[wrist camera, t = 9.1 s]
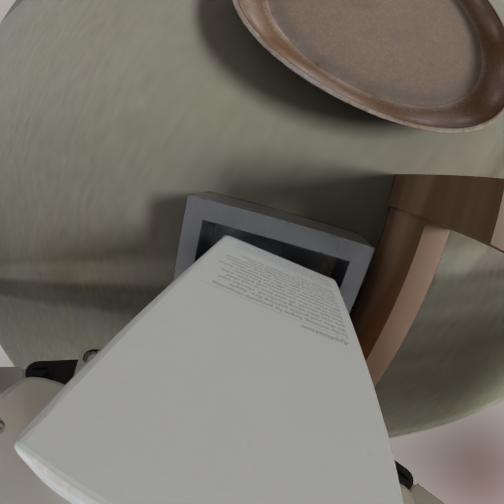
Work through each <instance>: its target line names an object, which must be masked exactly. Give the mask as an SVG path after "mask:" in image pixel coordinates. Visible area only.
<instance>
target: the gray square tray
mask: <svg viewBox="0 0 504 504" xmlns="http://www.w3.org/2000/svg"><path fill="white" fill-rule="evenodd" d="M225 235H229V236H232V237H234V238H236V239H239V240H241V241H243V242H246V243H248V244H251V245H253V246H255V247H258V248H260V249H262V250H265V251H267V252H270V253H272V254H274V255H277V256H279V257H281V258H284V259H286V260H289V261H291V262H293V263H296V264H298V265H300V266H303V267H305V268H308V269H310V270H312V271H315V272H317V273H319V274H322V275H324V276H327V277H329V278H332V279H334V280H335V281H336V283H337V286H338V288H339V291H340V293H341V296H342V298H343V301H344V304H345V306H346V308H347V311H348V314H349V313H350V311H351V308H352V306H353V304H354V301H355V299H356V296H357V294H358V291H359V289H360V286H361V284H362V281H363V279H364V276H365V274H366V271H367V268H368V266H369V263H370V260H371V257H372V255H373V252H374V249H375V248H374V247H373V246H372V245H371V244H370V243H369V242H368V241H366V240H365V239H364V238H363V237H362V236H361V235H360V234H358V233H355V232H352V231H349V230H345V229H342V228H339V227H336V226H333V225H329V224H326V223H323V222H319V221H316V220H313V219H309V218H306V217H303V216H299V215H296V214H292V213H289V212H285V211H282V210H278V209H274V208H271V207H267V206H263V205H260V204H256V203H252V202H248V201H245V200H241V199H237V198H233V197H229V196H225V195H221V194H217V193H213V192H204V193H198V194H193V195H188V198H187V203H186V208H185V213H184V219H183V224H182V229H181V235H180V241H179V246H178V252H177V259H176V265H175V271H174V278H173V281H174V280H175V279H176V278H178V277H179V276H180V275H181V274H182V273H183V272H184V271H185V270H187V269H188V268H189V267H190V266H191V265H192V264H193V263H194V262H196V261H197V260H198V259H199V258H200V257H201V256H202V255H203V254H205V253H206V252H207V251H208V250H209V249H210V248H211V247H212V246H214V245H215V244H216V243H217V242H218V241H219V240H220V239H221V238H222V237H223V236H225Z"/></svg>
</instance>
